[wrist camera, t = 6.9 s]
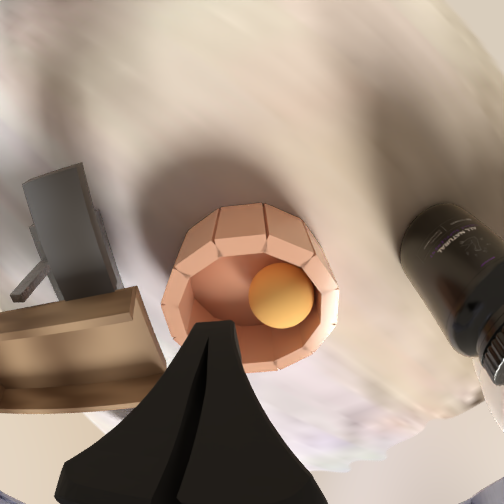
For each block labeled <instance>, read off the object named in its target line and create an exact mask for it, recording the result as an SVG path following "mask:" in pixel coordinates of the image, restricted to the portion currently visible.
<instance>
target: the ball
mask: <svg viewBox="0 0 504 504" xmlns="http://www.w3.org/2000/svg"><path fill="white" fill-rule="evenodd" d="M248 297H249V304H250V307H251V310H252V311H253V313H254V315H255V316H256V317H257V318H258V319H259V320H260V321H261V322H262V323H264V324H266V325H268V326H270V327H274V328H289V327H292V326H295V325H297V324H298V323H300V322H301V321H303V320H304V319H305V318H306V317H307V315H308V314H309V313H310V311H311V309H312V306H313V303H314V288H313V285H312V282H311V280H310V278H309V277H308V275H307V274H306V273H305V272H304V271H303V270H301V269H300V268H299V267H297V266H295V265H292V264H289V263H275V264H271V265H268V266H266V267H264V268H263V269H262V270H260V271H259V272H258V273H257V274H256V275H255V277H254V278H253V280H252V282H251V284H250V288H249V295H248Z"/></svg>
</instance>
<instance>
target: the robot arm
mask: <svg viewBox="0 0 504 504" xmlns="http://www.w3.org/2000/svg"><path fill="white" fill-rule="evenodd" d="M54 497H55V499H56V500H57V501H58V502H59V503H60V504H328V502H327V500H326V498H325V497H324V495H323V493H322V491H321V490H320V488H319V486H318V485H317V483H316V481H315V480H314V478H313V476H312V474H311V473H310V472H309V471H308V470H307V469H306V468H305V466H304V465H303V464H302V463H301V462H300V461H299V459H298V458H297V457H296V456H295V455H294V453H293V452H292V451H291V450H290V448H289V447H288V446H287V444H286V443H285V442H284V440H283V439H282V438H281V436H280V435H279V433H278V432H277V430H276V429H275V427H274V426H273V424H272V423H271V421H270V420H269V418H268V417H267V415H266V413H265V411H264V410H263V408H262V406H261V404H260V403H259V401H258V399H257V397H256V395H255V393H254V391H253V389H252V387H251V385H250V382H249V380H248V378H247V376H246V373H245V371H244V368H243V365H242V357H241V352H240V347H239V342H238V337H237V332H236V327H235V322H233V321H232V320H224V321H211V322H197V323H195V325H194V326H193V328H192V329H191V331H190V333H189V335H188V336H187V338H186V340H185V341H184V343H183V345H182V346H181V348H180V349H179V351H178V353H177V354H176V356H175V357H174V359H173V360H172V362H171V363H170V365H169V366H168V368H167V369H166V371H165V372H164V373H163V375H162V376H161V377H160V379H159V380H158V381H157V383H156V384H155V385H154V387H153V388H152V389H151V390H150V392H149V393H148V394H147V395H146V396H145V397H144V399H143V400H142V401H141V402H140V403H139V404H138V405H137V406H136V407H135V408H134V409H133V410H132V411H131V412H130V413H129V414H128V415H127V416H126V417H125V418H124V419H123V420H122V421H121V422H120V423H119V424H118V425H117V426H116V427H115V428H113V429H112V430H111V431H110V432H108V433H107V434H106V435H105V436H103V437H102V438H101V439H100V440H99V441H97V442H96V443H94V444H93V445H92V446H90V447H89V448H87V449H86V450H84V451H83V452H81V453H79V454H78V455H76V456H75V457H73V458H71V459H70V460H68V461H66V462H65V463H64V465H63V468H62V471H61V474H60V477H59V481H58V484H57V488H56V491H55V495H54ZM0 504H25V503H23V502H21V501H19V500H16V499H15V498H13V497H11V496H9V495H7V494H5V493H3V492H1V491H0ZM459 504H504V477H503V478H501V479H499V480H498V481H496V482H494V483H492V484H490V485H489V486H487V487H485V488H484V489H482V490H480V491H479V492H478V493H476V494H475V495H473V497H472V498H470V499H468V500H466V501H464V502H462V503H459Z"/></svg>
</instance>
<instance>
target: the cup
mask: <svg viewBox="0 0 504 504" xmlns="http://www.w3.org/2000/svg"><path fill="white" fill-rule="evenodd" d="M275 263H289V264H292V265H295V266H297V267H299V268H300V269H301V270H303V271H304V272H305V273H306V274H307V275H308V277H309V278H310V280H311V282H312V285H313V288H314V303H313V306H312V309H311V311H310V313H309V314H308V315H307V317H306V318H305V319H304V320H303V321H301V322H300V323H298V324H297V325H295V326H292V327H289V328H274V327H270V326H268V325H266V324H264V323H262V322H261V321H260V320H259V319H258V318H257V317H256V316H255V315H254V313H253V311H252V310H251V307H250V304H249V297H248V295H249V288H250V284H251V282H252V280H253V278H254V277H255V275H256V274H257V273H258V272H259V271H260V270H262V269H263V268H264V267H266V266H268V265H271V264H275ZM338 300H339V288H338V285H337V282H336V280H335V277H334V275H333V273H332V270H331V268H330V266H329V263H328V261H327V259H326V256H325V254H324V252H323V249H322V248H321V246H320V245H319V243H318V242H317V240H316V239H315V237H314V236H313V234H312V233H311V231H310V230H309V229H308V227H307V226H306V224H305V223H304V221H302V220H301V219H300V218H298V217H296V216H294V215H291V214H289V213H287V212H284V211H282V210H280V209H277V208H275V207H273V206H270V205H268V204H266V203H265V204H264V206H262V203H255V204H245V205H236V206H226V207H221V210H220V209H219V208H218V209H217V210H215V211H214V212H213V213H211V214H210V215H208V216H207V217H206V218H204V219H203V220H202V221H200V222H199V223H198V224H196V225H195V226H193V227H192V228H191V229H189V230H188V232H187V233H186V236H185V238H184V241H183V243H182V246H181V248H180V251H179V254H178V256H177V259H176V261H175V264H174V266H173V269H172V272H171V275H170V278H169V281H168V283H167V286H166V289H165V292H164V295H163V298H162V301H161V303H162V304H161V307H162V310H163V313H164V316H165V319H166V322H167V325H168V328H169V331H170V334H171V336H172V337H174V338H173V339H174V340H175V341H176V342H177V343H178V344H179V345H181V346H182V345H183V343H184V341H185V340H186V338H187V336H188V335H189V333H190V331H191V329H192V328H193V326H194V325H195V323H197V322H211V321H224V320H232V321H233V322H235V327H236V332H237V337H238V342H239V347H240V352H241V357H242V365H243V368H244V371H245V373H254V372H267V371H278V369H277V368H279V369H280V370H281V369H283V368H285V367H287V366H289V365H291V364H293V363H296V362H298V361H300V360H302V359H304V358H306V357H308V356H310V355H312V354H313V353H312V352H315V351H316V350H317V349H318V348H319V346H320V345H321V344H322V343H323V341H324V340H325V339H326V338H327V336H328V335H329V334H330V332H331V331H332V330H333V329H334V327H335V326H336V324H335V323H337V314H338Z"/></svg>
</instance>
